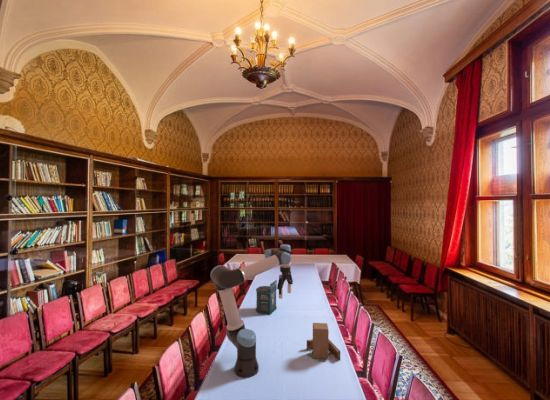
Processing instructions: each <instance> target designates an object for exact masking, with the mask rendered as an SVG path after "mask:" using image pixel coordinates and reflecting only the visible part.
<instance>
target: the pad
mask: <svg viewBox="0 0 550 400" xmlns="http://www.w3.org/2000/svg"><path fill="white" fill-rule="evenodd" d="M330 355H332V354H331V353H330V352H328V358H329V357H330ZM307 358H310V359H313V360H316V361H319V362H323V363H325V362H326V361H327V360H328V359H317V358H313V350H312V351H311V352H310V354H309V355H307Z"/></svg>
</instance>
